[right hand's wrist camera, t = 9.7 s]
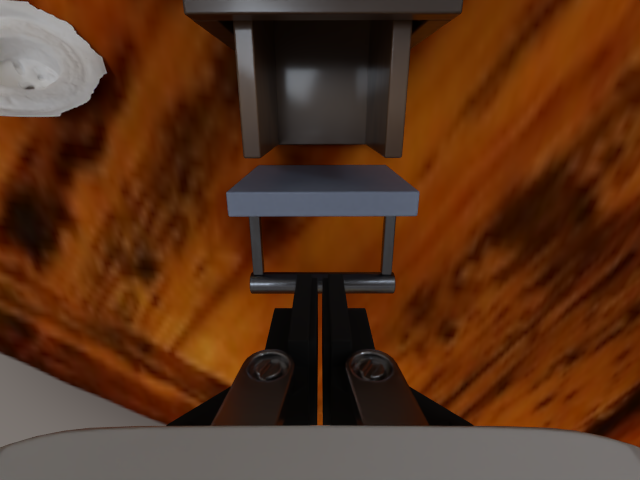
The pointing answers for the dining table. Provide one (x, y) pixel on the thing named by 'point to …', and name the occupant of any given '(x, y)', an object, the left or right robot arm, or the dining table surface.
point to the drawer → (322, 130)
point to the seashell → (43, 63)
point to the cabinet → (321, 13)
